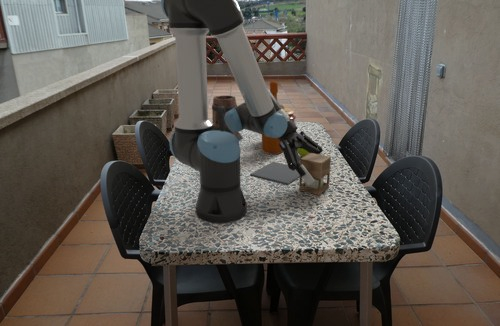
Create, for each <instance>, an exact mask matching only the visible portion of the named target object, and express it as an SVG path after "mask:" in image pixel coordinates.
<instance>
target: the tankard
mask: <svg viewBox="0 0 500 326" xmlns="http://www.w3.org/2000/svg"><path fill="white" fill-rule="evenodd" d="M237 106H238V104H237V101H236V97H235V96H232V95H218V96H217V95H216V96H213V100H212V105H211V110H212V111H211V112H212V113H211V114H212V117H211V118H212V119H211V122H212V123H213V131H215V130H216V131H221V132H224V131H225V132H229V133H231V134H233V135H235V136H236V137H237V138H238V140H239V142H240V141H242V140H243V139H244V137H243V136H242V134H241V133H240V131H239V132H237V133H234V132H232V131H231V130H230V129H229V128H228V127H227V125H226V123H225V118H224V117H225V114H226V113H227V112H228V111H230V110H231V109H232V108H235V107H237Z"/></svg>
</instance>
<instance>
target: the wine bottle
mask: <svg viewBox="0 0 500 326" xmlns="http://www.w3.org/2000/svg"><path fill="white" fill-rule="evenodd" d="M278 88H279V83H278V81H276V80H273V81H270V83H269V91H270V92H271V93H272V95H273V96H274V97H275V99H276V100H277V101H278V92H279V89H278ZM281 142H282V141H279V140H278V138H272V137H267V136H265V135H262V134H261V149H262V151H263V152H264V153H265V154H269V155H275V154H281V153H283V151H282V149H281V147H280V146H279V143H281Z"/></svg>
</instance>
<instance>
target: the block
mask: <svg viewBox="0 0 500 326" xmlns="http://www.w3.org/2000/svg"><path fill="white" fill-rule="evenodd" d="M324 178H325V176H324V177H323V178H321V188H322V187H323V182H325V181H324ZM313 179H314V180H315V181H314V182H312V183H311V184H310V185H307V183H306V182H305V181H304V182H305V186H306V187H310V188H314V189H318V180H319V179H317V178H313Z"/></svg>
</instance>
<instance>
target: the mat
mask: <svg viewBox="0 0 500 326" xmlns="http://www.w3.org/2000/svg"><path fill="white" fill-rule="evenodd" d="M250 176H252V177H256V178H260V179H264V180H268V181H272V182H277V183H281V184H284V185H287V186H289V185H291V183H293V182H294V181H296V180H298V179H300V174H299V173H298V172H297V171H296V169H295V170H294V171H293V170H292V169H289V167H288V164H287V163H286V164H285V163H280V162H277V161H276V162H275V161H271V162H270V163H268V164H266V165H264V166H262V167H260V168H259V169H257V170H255V171H253V172H251V173H250Z"/></svg>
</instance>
